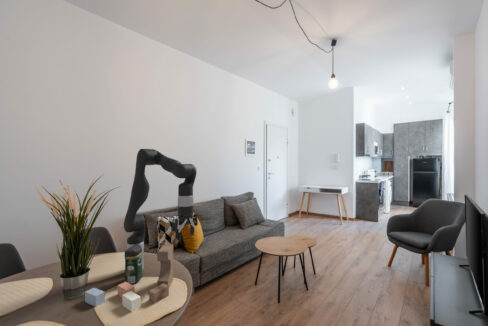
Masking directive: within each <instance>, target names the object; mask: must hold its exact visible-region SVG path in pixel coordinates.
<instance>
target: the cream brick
mask: <svg viewBox="0 0 488 326" xmlns="http://www.w3.org/2000/svg"><path fill="white" fill-rule="evenodd" d="M121 299H122V303H121V304H122V305H123V306H122V305H121V306H122V307H124V308H125V309H126V310H128V311H130V312H131V313H133V312H135V311H137V310H138V309H140V308H141V305H142V304H141V296H140V295H139V294H137V293H136V292H135V293H134V292H132V291H130V292H127V293H125V294H123V295H122V297H121Z"/></svg>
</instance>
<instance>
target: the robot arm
mask: <svg viewBox="0 0 488 326" xmlns="http://www.w3.org/2000/svg"><path fill="white" fill-rule="evenodd" d="M155 165H157V166H160V167H161V168H162V169H163V170H164V171H166V172H169V173H170V174H172V175H174V177H176V178H178V179H184V181H183V182H181V183H179V184H178V187H177V188H178V189H177V192H178V193H177V215H178V216H177V218H172V221H171V222H172V225H171V231H172V232H174V233H175V239H176V241H177V240H178V241H180V240H181V235H182V233H181V231H182V229H183V228H184V227H186V226H187V225H189V235H190V236H194V235H195V227H196V226H198V224H199V221H198V214H197V213H194V185H195V180H196V177H197V168H196V166H195V164H192V163H182V162H181V161H179V160H177V159H174V158H171V157H168V156H166V155H165V154H163V153H161V152H160V151H159V150H157V149H154V148H141V149H139V150H138V152H137V154H136V162H135V169H134V171H135V172H134V177H133V183H132V186H131V187H132V188H131V191H130V199H129V203H128V207H127V210H126V213H125V217H124V221H123V229H124V231H125V232H126V233H132V234H131V235H129V236H128V237H127V239H126V250H127V249H128V248H130V247H131V246H133V245H140V246H141V247H142V272H143V271H144V268H145V236H146V219H145V216H144V215H143V214H141V213H139V214H137V213H138V211H139V210H140V208H141V207H142V206H143V205H144V204H145V202H146V201H147V199H148V197H149V192H150V188H151V187H150V184H149V183H150V182H149V181H148V179H147V177H146V174H145V173H146V166H155Z"/></svg>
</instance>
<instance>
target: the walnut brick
mask: <svg viewBox="0 0 488 326" xmlns="http://www.w3.org/2000/svg"><path fill="white" fill-rule="evenodd" d="M169 292H170V287H169V286H168V285H166V284H164V283H163V284H161V285H159V286H158V287H157V286H156V287H154V288H151V289H150V290H149V291H148V297H149V298H148V299H149V300H148V301H149V302H151V303H152V304H153V305H155V304H157V303H158V302H160V301H162V300H164V299H165V298H167V297H169V295H170V293H169Z"/></svg>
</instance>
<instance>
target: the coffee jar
mask: <svg viewBox="0 0 488 326" xmlns="http://www.w3.org/2000/svg"><path fill="white" fill-rule="evenodd" d="M142 278H143V271H142V247H141V246H140V245H133V246H131V247H130V248H128V249H127V248H126V250H124V282H127V283H129V284H131V285H133V284H137V283H139V281H141V279H142Z"/></svg>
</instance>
